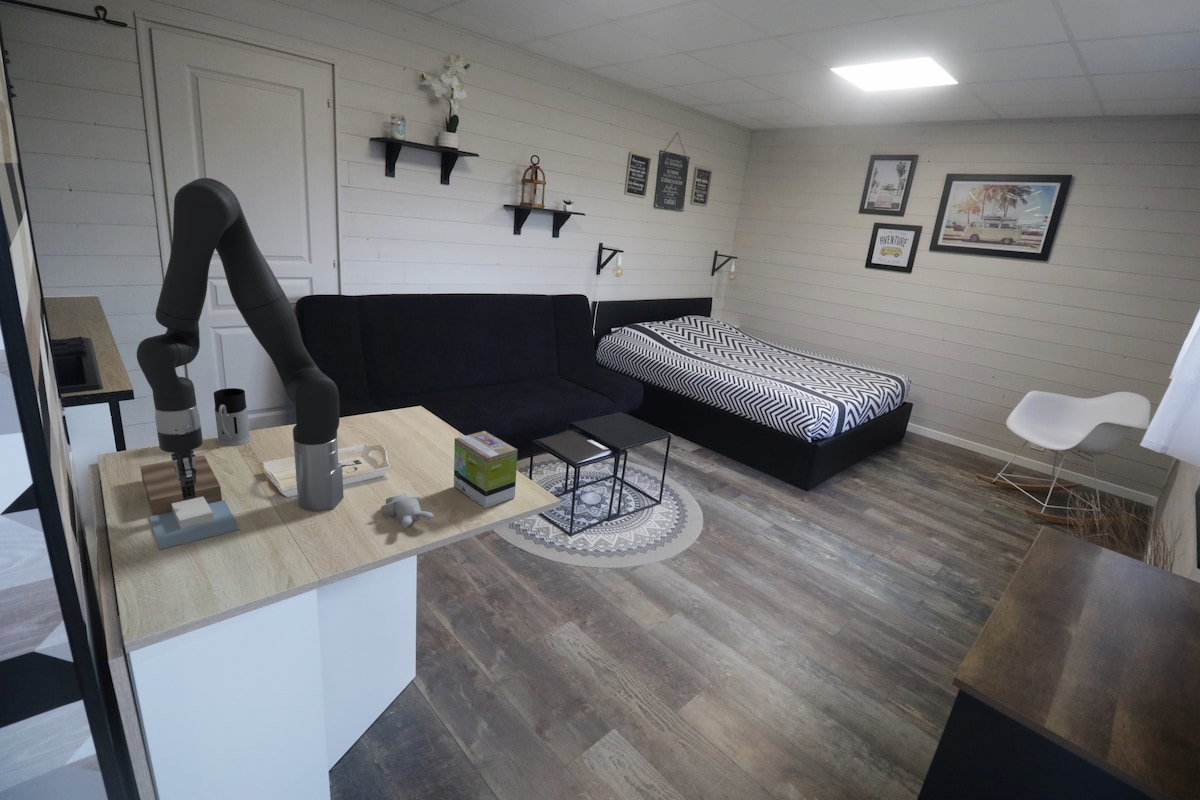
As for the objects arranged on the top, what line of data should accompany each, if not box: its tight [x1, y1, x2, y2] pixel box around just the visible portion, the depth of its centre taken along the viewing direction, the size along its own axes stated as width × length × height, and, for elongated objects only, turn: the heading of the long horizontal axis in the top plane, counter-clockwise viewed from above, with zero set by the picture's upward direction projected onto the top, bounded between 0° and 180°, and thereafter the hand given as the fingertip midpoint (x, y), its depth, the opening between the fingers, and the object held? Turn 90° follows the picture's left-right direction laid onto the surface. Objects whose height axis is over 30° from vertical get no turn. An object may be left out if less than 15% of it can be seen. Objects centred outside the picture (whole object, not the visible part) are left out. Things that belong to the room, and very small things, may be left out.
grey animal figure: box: [380, 493, 435, 528], centre depth 132 cm, size 10×5×15 cm
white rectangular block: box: [171, 496, 214, 529], centre depth 124 cm, size 9×6×2 cm, turn 45°
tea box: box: [453, 430, 519, 509], centre depth 147 cm, size 15×10×15 cm, turn 47°
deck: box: [140, 455, 223, 516], centre depth 134 cm, size 20×13×4 cm, turn 43°
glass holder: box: [213, 387, 253, 447], centre depth 158 cm, size 9×14×15 cm, turn 18°
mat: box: [149, 499, 240, 551], centre depth 122 cm, size 15×14×1 cm
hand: (189, 498), depth 124 cm, fingers closed
